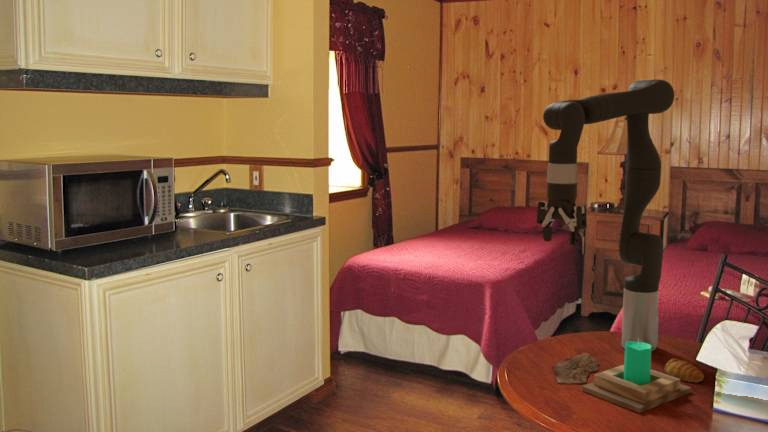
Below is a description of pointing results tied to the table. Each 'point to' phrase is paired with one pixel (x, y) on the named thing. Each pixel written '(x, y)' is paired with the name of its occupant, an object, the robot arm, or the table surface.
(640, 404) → the board
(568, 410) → the table surface
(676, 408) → the table surface
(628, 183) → the robot arm
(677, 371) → the pastry
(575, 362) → the wooden fragment
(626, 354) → the candle
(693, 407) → the table surface
